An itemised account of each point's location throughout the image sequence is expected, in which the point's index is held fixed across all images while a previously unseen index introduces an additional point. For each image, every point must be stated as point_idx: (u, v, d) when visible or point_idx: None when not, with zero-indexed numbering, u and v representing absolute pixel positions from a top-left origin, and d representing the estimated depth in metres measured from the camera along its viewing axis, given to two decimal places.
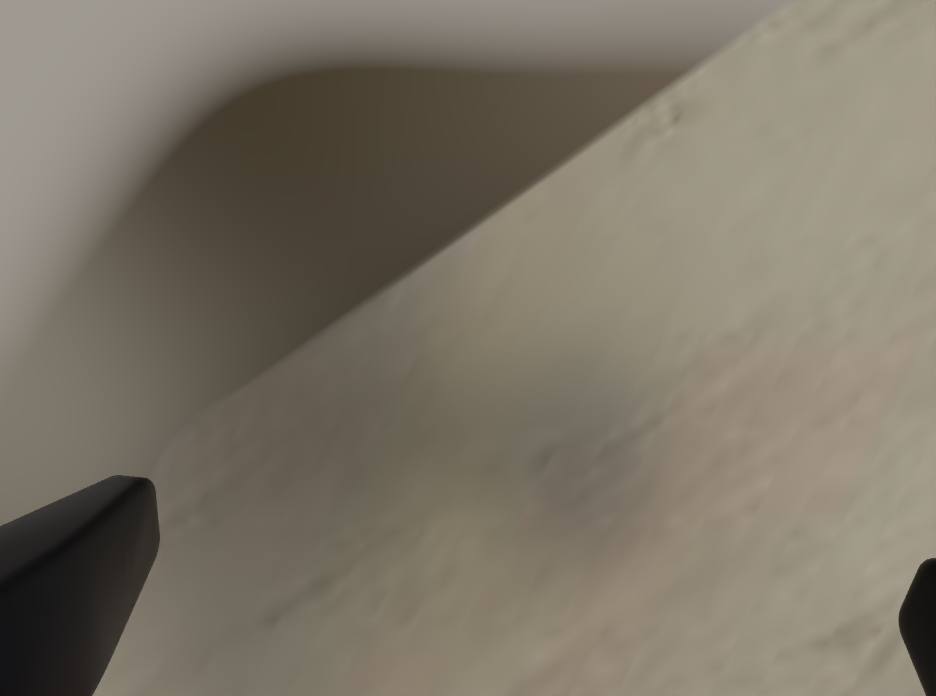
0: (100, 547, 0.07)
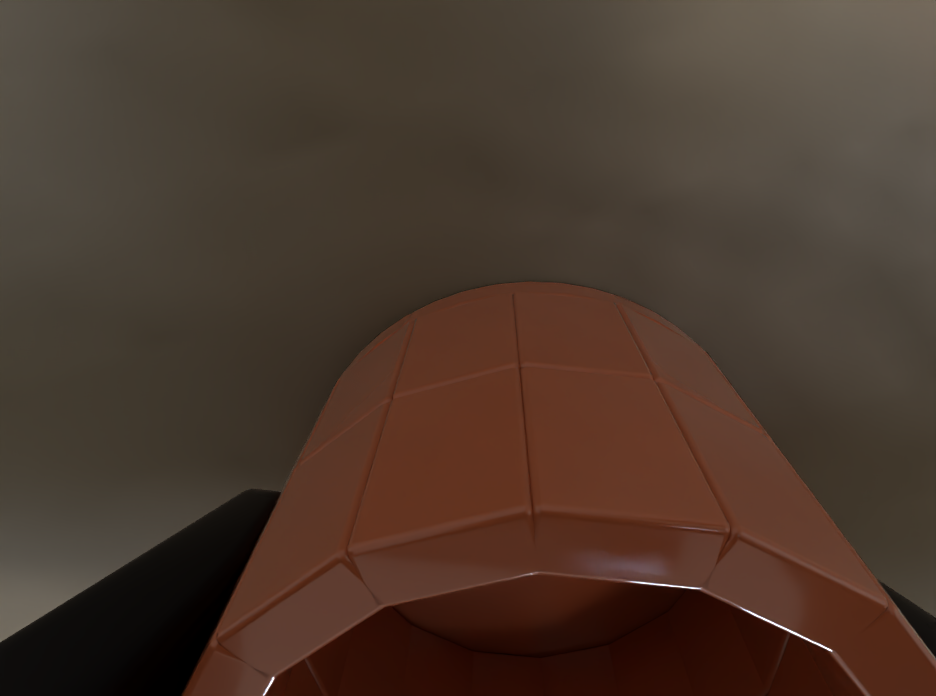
0: None
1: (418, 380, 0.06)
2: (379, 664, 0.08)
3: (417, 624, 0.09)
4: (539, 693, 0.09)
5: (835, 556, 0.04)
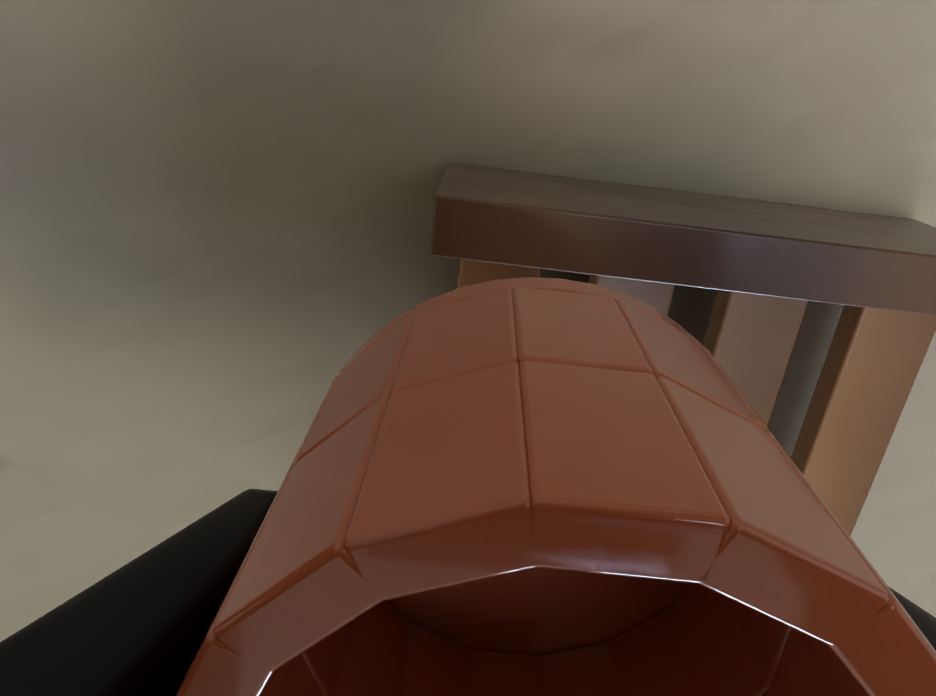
0: None
1: (416, 375, 0.06)
2: (378, 661, 0.08)
3: (416, 621, 0.09)
4: (538, 690, 0.09)
5: (835, 549, 0.04)
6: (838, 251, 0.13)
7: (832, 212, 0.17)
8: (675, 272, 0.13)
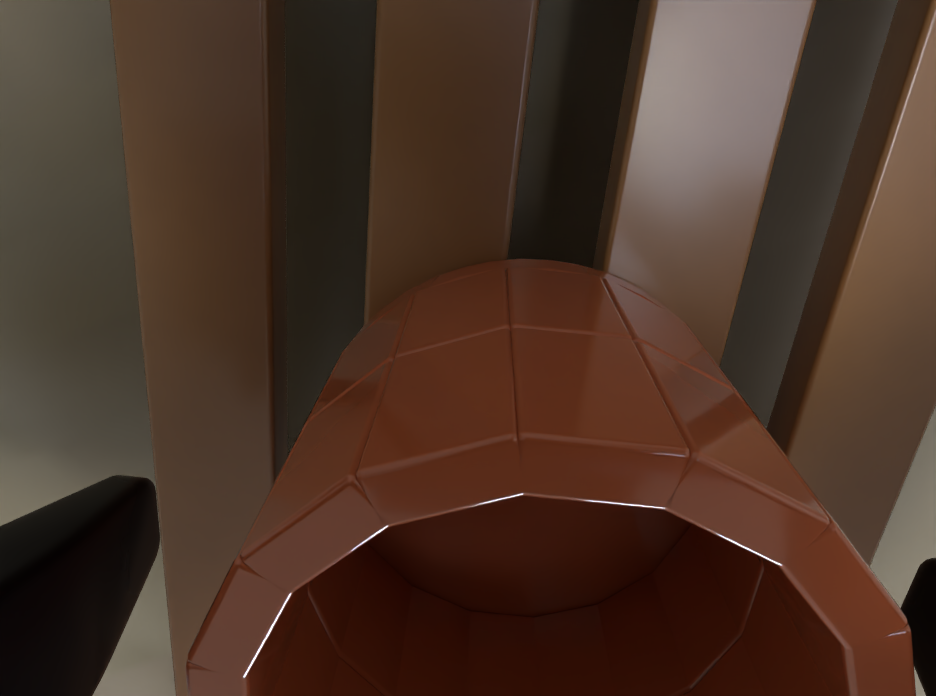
0: (100, 547, 0.07)
1: (418, 342, 0.07)
2: (383, 618, 0.09)
3: (417, 584, 0.10)
4: (532, 648, 0.10)
5: (785, 482, 0.05)
6: None
7: None
8: None
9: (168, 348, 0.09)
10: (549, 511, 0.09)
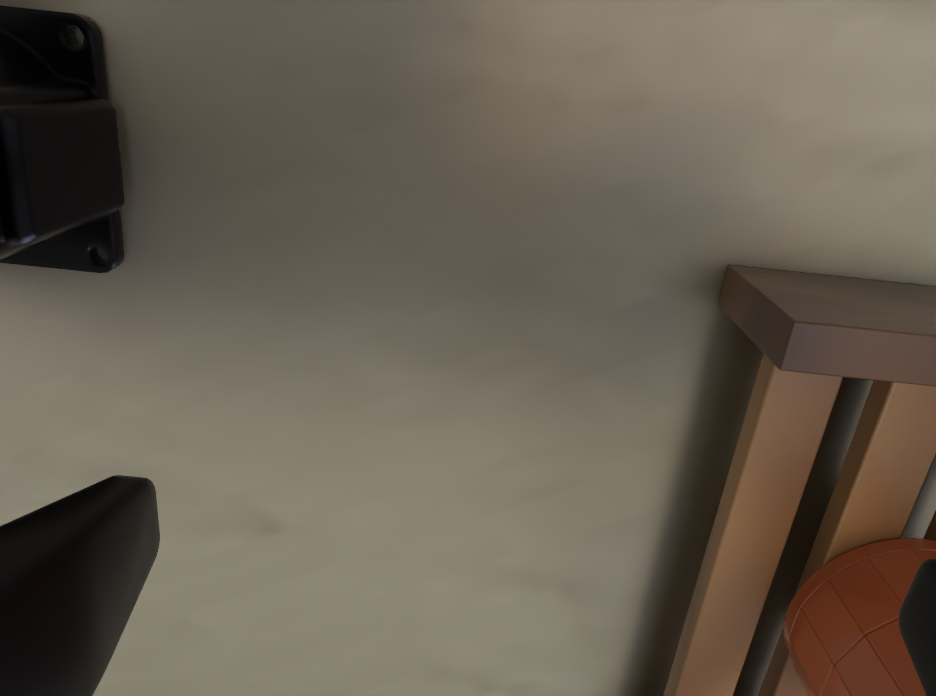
0: (100, 547, 0.07)
1: None
2: None
3: None
4: None
5: None
6: None
7: None
8: None
9: (726, 571, 0.19)
10: None
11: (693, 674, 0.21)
